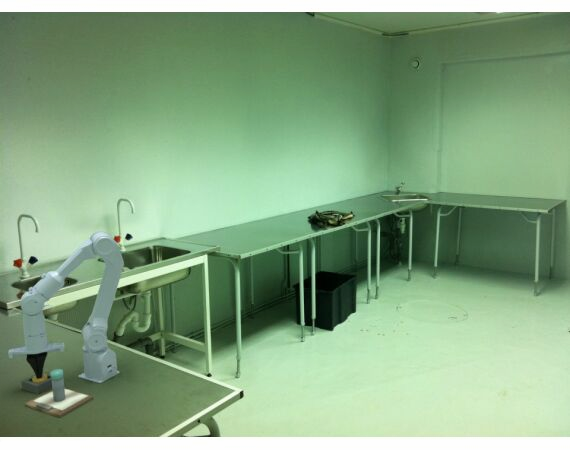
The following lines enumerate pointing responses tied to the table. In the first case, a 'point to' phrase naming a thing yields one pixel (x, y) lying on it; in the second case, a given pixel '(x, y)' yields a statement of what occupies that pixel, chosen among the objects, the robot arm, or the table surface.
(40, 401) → the clipboard
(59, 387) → the marker
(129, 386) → the table surface
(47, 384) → the button base
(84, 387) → the table surface
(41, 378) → the button
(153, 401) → the table surface
